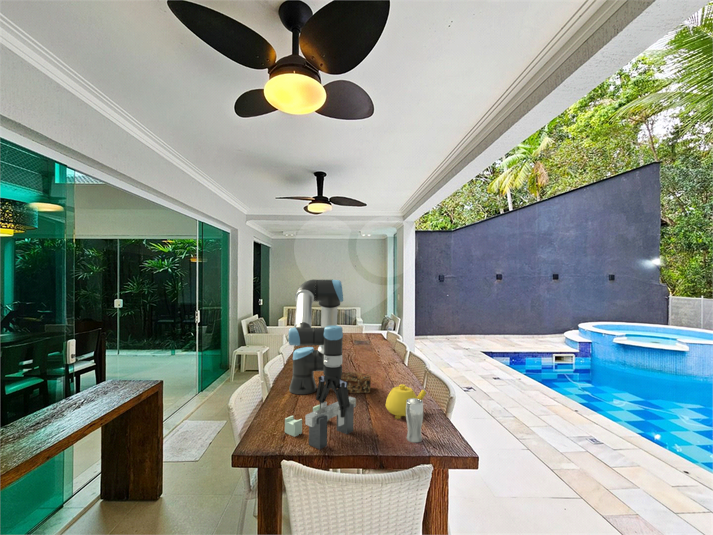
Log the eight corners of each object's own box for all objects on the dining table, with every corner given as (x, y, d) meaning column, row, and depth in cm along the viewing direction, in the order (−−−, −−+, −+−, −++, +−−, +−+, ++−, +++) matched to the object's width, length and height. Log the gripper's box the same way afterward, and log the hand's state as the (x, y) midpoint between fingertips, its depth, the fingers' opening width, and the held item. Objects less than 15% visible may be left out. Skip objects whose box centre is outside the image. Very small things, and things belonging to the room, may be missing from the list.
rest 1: (284, 432, 144) (284, 418, 144) (292, 429, 147) (292, 415, 147) (294, 436, 140) (294, 422, 140) (302, 433, 143) (302, 419, 143)
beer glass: (403, 435, 142) (404, 398, 143) (420, 434, 143) (420, 397, 143) (407, 443, 135) (408, 404, 136) (425, 443, 136) (425, 404, 136)
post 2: (336, 430, 146) (336, 403, 146) (342, 427, 149) (343, 400, 149) (347, 434, 142) (347, 406, 143) (353, 431, 146) (353, 404, 146)
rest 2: (312, 420, 156) (312, 407, 156) (318, 417, 159) (319, 404, 159) (322, 423, 152) (322, 410, 152) (328, 420, 156) (328, 407, 156)
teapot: (420, 406, 174) (420, 378, 174) (433, 419, 158) (433, 388, 159) (381, 409, 170) (381, 380, 170) (391, 422, 154) (391, 391, 155)
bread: (336, 393, 192) (337, 375, 192) (338, 387, 203) (338, 369, 203) (370, 393, 192) (370, 375, 192) (370, 387, 202) (370, 370, 203)
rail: (305, 424, 130) (305, 415, 131) (349, 404, 151) (349, 396, 151) (312, 427, 128) (312, 417, 128) (355, 406, 149) (355, 398, 149)
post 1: (308, 444, 133) (309, 415, 134) (316, 441, 137) (316, 412, 137) (319, 449, 130) (320, 419, 130) (327, 445, 133) (327, 415, 133)
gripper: (307, 362, 144) (306, 417, 143) (347, 371, 130) (346, 432, 130) (320, 359, 150) (319, 412, 149) (359, 367, 136) (359, 426, 136)
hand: (332, 421), depth 140 cm, fingers open, 9 cm apart
